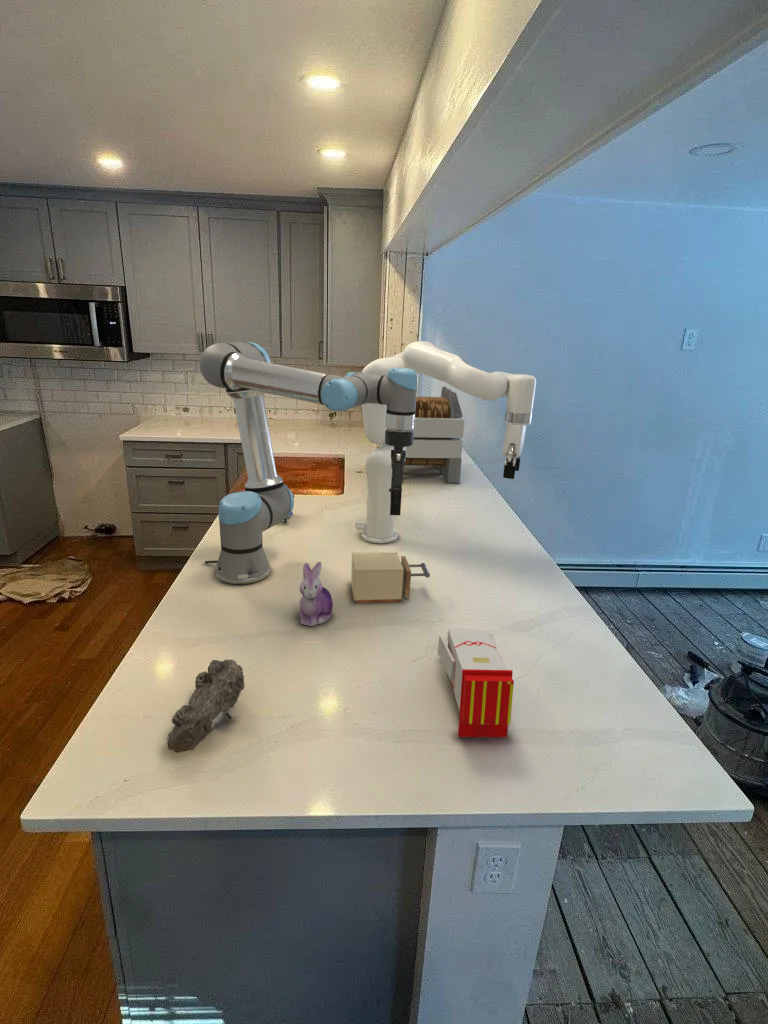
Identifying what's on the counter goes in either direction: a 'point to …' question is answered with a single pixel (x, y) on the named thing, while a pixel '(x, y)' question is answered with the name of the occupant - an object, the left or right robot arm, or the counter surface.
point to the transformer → (438, 435)
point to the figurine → (314, 598)
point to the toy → (478, 682)
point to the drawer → (408, 574)
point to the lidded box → (376, 577)
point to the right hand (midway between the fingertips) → (511, 474)
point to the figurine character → (289, 515)
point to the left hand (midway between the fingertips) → (395, 506)
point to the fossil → (206, 705)
